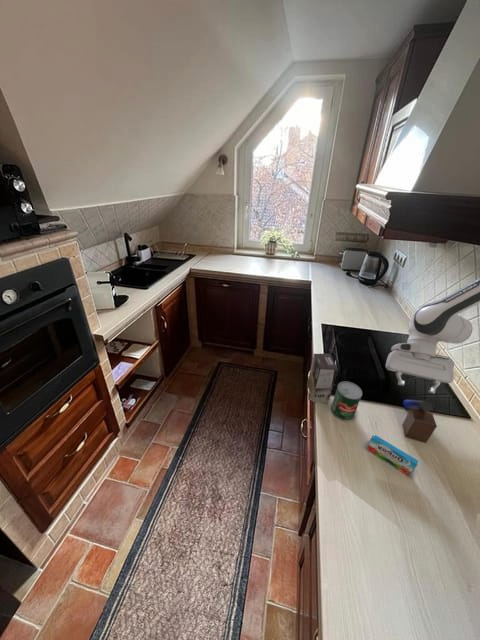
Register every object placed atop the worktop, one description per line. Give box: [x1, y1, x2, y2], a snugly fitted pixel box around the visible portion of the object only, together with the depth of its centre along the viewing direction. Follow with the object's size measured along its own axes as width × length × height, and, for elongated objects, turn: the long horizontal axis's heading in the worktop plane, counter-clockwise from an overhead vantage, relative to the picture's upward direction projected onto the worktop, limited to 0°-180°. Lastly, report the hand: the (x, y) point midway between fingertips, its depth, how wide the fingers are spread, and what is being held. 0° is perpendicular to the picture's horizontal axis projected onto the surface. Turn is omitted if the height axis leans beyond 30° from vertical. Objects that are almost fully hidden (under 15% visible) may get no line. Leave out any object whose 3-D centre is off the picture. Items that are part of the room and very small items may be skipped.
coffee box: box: [306, 353, 339, 404], centre depth 93 cm, size 9×6×16 cm
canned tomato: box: [330, 380, 363, 422], centre depth 88 cm, size 8×8×11 cm
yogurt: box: [365, 433, 419, 477], centre depth 74 cm, size 12×2×6 cm, turn 48°
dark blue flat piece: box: [402, 399, 434, 413], centre depth 86 cm, size 13×3×13 cm, turn 160°
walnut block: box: [401, 408, 438, 444], centre depth 81 cm, size 5×6×8 cm
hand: (415, 389), depth 89 cm, fingers open, 8 cm apart
